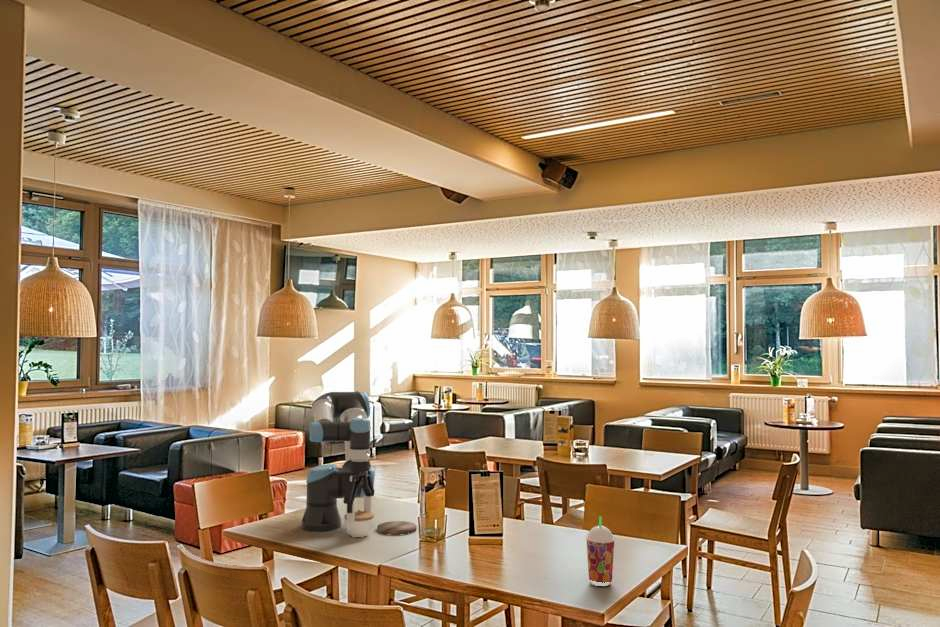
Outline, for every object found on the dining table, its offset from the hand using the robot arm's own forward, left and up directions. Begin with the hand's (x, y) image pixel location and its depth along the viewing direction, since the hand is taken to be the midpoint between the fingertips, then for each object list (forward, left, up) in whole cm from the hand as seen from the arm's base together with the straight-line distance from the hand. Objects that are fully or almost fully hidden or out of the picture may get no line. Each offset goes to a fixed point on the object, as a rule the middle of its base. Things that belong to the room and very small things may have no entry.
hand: (359, 517), depth 268 cm
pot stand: (+10, +12, -7) cm, 17 cm away
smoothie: (+93, -24, -7) cm, 96 cm away
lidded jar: (0, 0, -7) cm, 7 cm away
